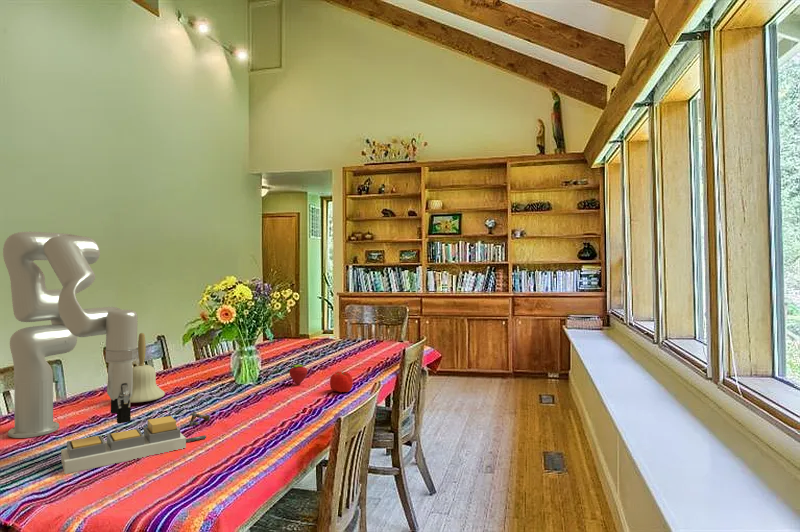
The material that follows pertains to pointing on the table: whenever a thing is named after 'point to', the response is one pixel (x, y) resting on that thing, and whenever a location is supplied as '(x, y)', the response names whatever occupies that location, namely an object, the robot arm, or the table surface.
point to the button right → (161, 424)
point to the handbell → (144, 378)
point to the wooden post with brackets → (198, 417)
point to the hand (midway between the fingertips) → (120, 417)
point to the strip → (122, 449)
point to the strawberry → (298, 373)
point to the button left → (85, 442)
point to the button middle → (124, 435)
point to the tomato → (341, 382)
